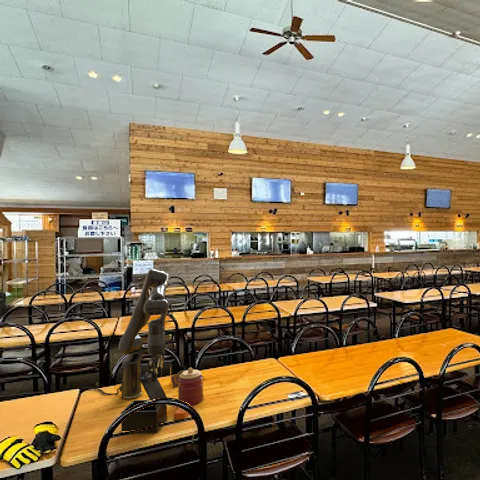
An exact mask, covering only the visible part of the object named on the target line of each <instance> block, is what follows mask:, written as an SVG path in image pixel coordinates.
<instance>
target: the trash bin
mask: <svg viewBox="0 0 480 480" xmlns="http://www.w3.org/2000/svg"><path fill="white" fill-rule="evenodd" d="M147 400H148V399H137V400H136V399H135V400H133V401H131V402H130V403H129V404H128V405H127V407H126V406H125V408H124V409H123V410H121V412H120V415H121V414H122V413H124V412H125V411H126V410H128V409H129V408H131V407H133V406H134V405H136V404H138V403H141V402H144V401H147ZM167 421H168V404H167V405H165V404H162V405H161V406H160V407H159V408H158V409H157V410H155V408H154V407H153V406H150V407H146V408H144V409H141V410H139V411H137V412H135V413H133V414H131V415H130V416H128V417H127V418H126V419H125V420H124V421H123V422H122V423H120V424H121V432H122V431H131V430H137V429H142V428H146V427H151V426H156V427H154V428H151V429H147V430H143V431H139V432H135V433H131V434H130V435H136V434H139V435H141V434H158V433H159V430H160V429H161V428H162V427H163V425H162V426H160V427H157V425H160V424H161V423H164V424H165V423H166V422H167Z"/></svg>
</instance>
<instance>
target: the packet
mask: <svg viewBox="0 0 480 480" xmlns="http://www.w3.org/2000/svg"><path fill="white" fill-rule="evenodd" d="M188 415H189V414H188V413H187V412H186V411H184V410H182V409H180V408H179V407H178V408H177V409H176V411H175V412H174V420H186V419H187V417H188Z"/></svg>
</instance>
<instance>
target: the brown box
mask: <svg viewBox="0 0 480 480" xmlns="http://www.w3.org/2000/svg"><path fill="white" fill-rule="evenodd" d="M187 370H188V369H186V370H185V371H187ZM169 371H170V372H169V373H170V374H169V376H170V384H171V385H172V387H178V385H179V382H178V379H179V378H180V377H179V375H180V374H181V373H183V372H184V371H183V370H180V371H179V372H177V374H174V375H172V367H171V366H170V368H169ZM202 381H205V379H204V378H203V379H202Z"/></svg>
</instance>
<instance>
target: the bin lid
mask: <svg viewBox="0 0 480 480" xmlns="http://www.w3.org/2000/svg"><path fill="white" fill-rule="evenodd" d="M158 373H159V370H158V369H157V374H158ZM139 379H140V381H141V386H142V388H143V389H144V391H145V393H146V395H147V396H148V400H153V399H158V398H167V399H168V397H167V395H166V392H165V390H164V389H163V387H162V385H161V383H160V381H159V379H158V378H157V381H156V382H152V381H151V373H150V374H149V369H148V370H147V371H146V372H144V374H141V377H140V378H139ZM161 405H162V404H157V405H153V407H154V408H155V410H157V409H158V408H159V407H160V406H161Z"/></svg>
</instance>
